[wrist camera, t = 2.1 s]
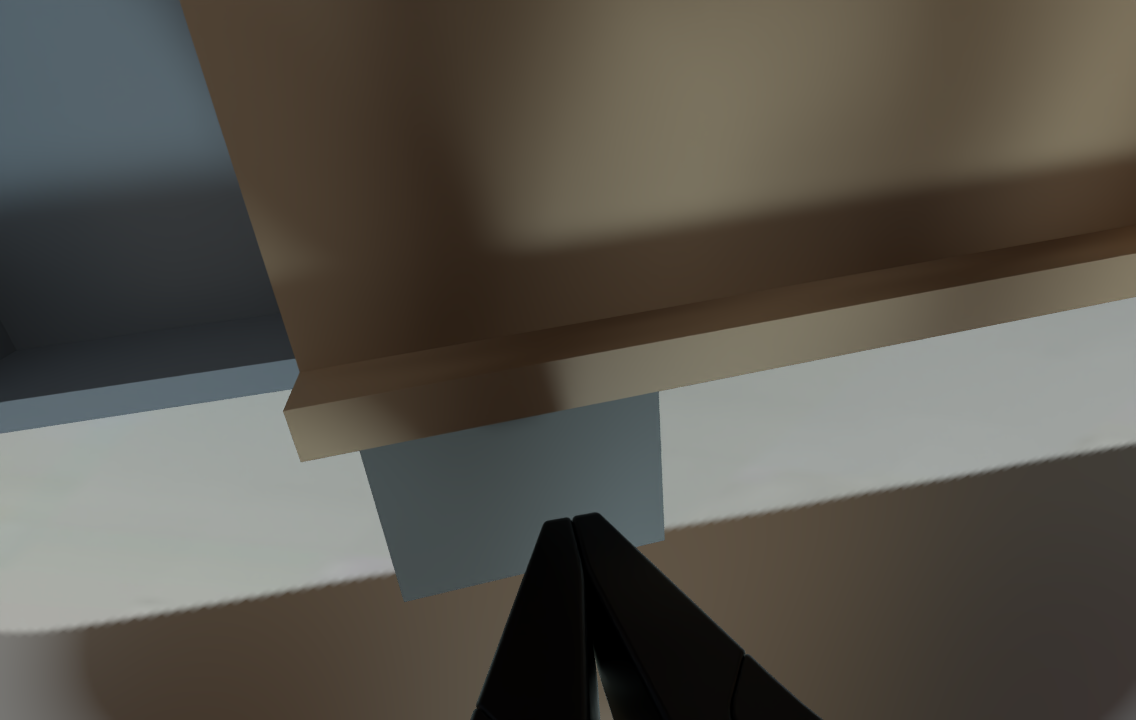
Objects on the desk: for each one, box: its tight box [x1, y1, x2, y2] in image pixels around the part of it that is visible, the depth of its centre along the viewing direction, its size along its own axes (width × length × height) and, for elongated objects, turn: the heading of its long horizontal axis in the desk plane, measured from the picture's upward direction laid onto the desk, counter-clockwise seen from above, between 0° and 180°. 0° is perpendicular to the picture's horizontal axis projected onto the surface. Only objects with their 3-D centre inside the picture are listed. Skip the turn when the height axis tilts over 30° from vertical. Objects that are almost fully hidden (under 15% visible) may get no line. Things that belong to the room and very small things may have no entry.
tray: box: [0, 0, 300, 433], centre depth 10 cm, size 8×9×6 cm
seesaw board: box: [179, 0, 1136, 602], centre depth 9 cm, size 22×12×5 cm, turn 95°
